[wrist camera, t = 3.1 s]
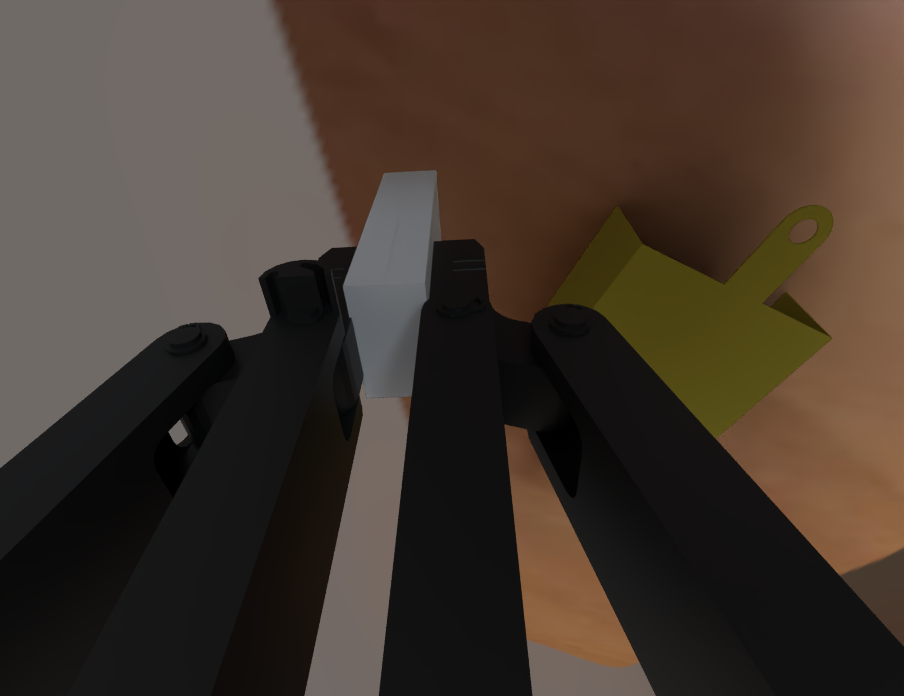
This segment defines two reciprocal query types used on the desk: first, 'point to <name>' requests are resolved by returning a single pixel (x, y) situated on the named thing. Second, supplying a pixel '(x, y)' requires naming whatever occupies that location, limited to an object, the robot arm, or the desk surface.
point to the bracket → (703, 315)
